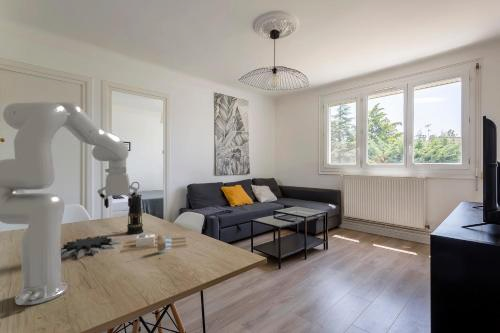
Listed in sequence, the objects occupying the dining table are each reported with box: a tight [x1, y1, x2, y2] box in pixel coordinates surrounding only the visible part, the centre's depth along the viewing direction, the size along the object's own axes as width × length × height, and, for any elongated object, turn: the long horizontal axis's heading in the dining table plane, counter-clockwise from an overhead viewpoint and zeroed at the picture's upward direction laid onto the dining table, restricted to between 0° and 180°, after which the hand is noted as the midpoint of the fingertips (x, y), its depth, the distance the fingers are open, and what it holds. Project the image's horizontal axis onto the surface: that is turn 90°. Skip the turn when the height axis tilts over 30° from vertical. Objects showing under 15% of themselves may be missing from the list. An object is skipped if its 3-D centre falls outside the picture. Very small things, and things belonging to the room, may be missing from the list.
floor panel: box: [118, 235, 187, 255], centre depth 125 cm, size 20×29×1 cm
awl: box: [156, 234, 167, 255], centre depth 112 cm, size 3×3×8 cm
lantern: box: [126, 181, 144, 236], centre depth 149 cm, size 9×9×30 cm
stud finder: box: [135, 233, 156, 247], centre depth 123 cm, size 5×8×4 cm, turn 107°
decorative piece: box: [61, 235, 122, 261], centre depth 121 cm, size 30×4×30 cm
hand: (118, 206), depth 121 cm, fingers open, 9 cm apart
